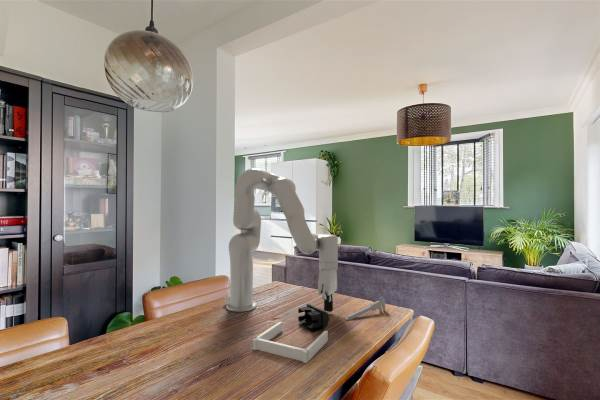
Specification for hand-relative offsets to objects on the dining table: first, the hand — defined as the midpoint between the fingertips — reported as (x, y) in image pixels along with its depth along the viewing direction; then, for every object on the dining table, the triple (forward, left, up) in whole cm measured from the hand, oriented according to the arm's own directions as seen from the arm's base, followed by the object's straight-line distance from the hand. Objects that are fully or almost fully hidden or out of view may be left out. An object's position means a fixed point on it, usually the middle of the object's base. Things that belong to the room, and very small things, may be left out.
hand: (328, 310), depth 124 cm
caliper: (+14, +5, -2) cm, 15 cm away
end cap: (0, -15, -1) cm, 15 cm away
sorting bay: (0, -31, -1) cm, 31 cm away
